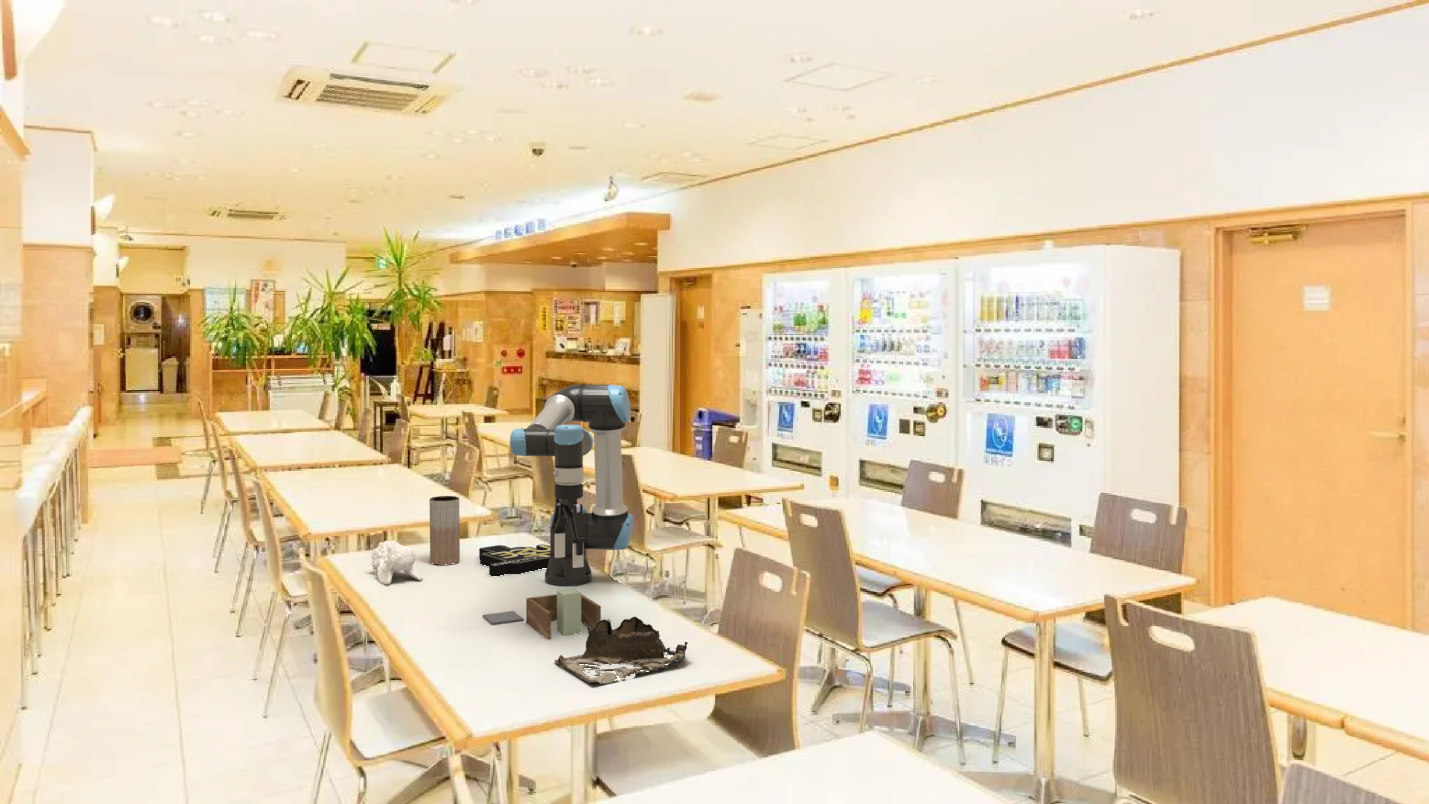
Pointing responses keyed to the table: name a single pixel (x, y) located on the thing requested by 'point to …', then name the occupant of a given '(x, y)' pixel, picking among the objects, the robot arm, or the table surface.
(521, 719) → the table surface
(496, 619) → the mat
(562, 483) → the robot arm
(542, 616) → the brown wooden frame
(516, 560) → the sign
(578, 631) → the block
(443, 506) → the planter
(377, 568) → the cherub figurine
